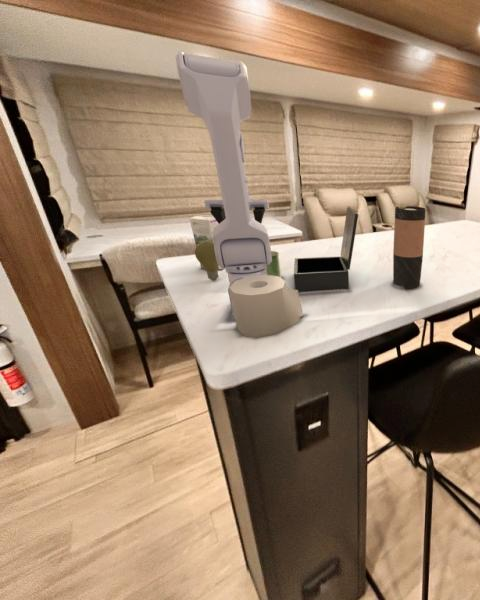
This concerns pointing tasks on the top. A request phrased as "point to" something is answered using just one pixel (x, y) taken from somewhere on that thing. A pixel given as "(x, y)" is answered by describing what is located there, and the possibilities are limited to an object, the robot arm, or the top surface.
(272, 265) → the green pot
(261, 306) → the toilet tissue
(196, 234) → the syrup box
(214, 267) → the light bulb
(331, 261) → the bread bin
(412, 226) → the travel mug
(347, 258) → the bin lid
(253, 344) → the top surface
